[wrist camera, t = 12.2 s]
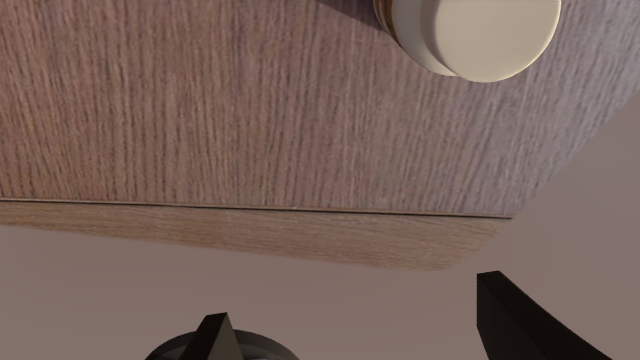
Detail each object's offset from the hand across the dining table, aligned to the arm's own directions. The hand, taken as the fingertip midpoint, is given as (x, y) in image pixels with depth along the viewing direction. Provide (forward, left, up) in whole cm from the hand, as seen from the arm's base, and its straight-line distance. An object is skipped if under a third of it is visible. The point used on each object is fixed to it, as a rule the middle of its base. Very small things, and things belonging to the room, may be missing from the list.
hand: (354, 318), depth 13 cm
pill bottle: (+7, -5, -11) cm, 14 cm away
